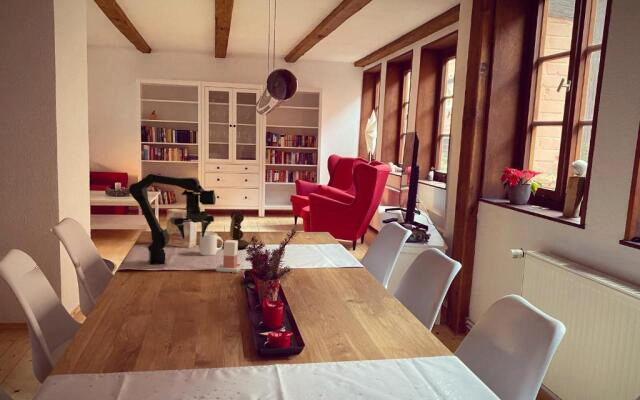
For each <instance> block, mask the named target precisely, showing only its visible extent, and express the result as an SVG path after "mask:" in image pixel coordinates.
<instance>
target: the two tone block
mask: <svg viewBox="0 0 640 400" xmlns="http://www.w3.org/2000/svg"><path fill="white" fill-rule="evenodd" d="M224 241H225V242H224ZM224 241H223V242H224V246H223V261H222V263H223V267H225V268H236V267H237V264H238V241H236V240H230V239H226V240H224Z"/></svg>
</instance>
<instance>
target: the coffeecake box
mask: <svg viewBox="0 0 640 400" xmlns="http://www.w3.org/2000/svg"><path fill="white" fill-rule="evenodd" d="M172 217H182V218H186V209H179V208H171V209H170V208H169V209H166V228H165V229H167V233H168V235H169V236H170V237H169V243H168V244H167V245H166V246H173V247H179V248H189V249H190V248H193V247H196V246H197V230H198V229H197V228H198V227H197V224H198V222H196V223H194V222H183V225H184V239H183V238H182V235H181V233H180V231H179V229H178V227H177V226H176V225H174V224H172V223H171V219H172ZM189 220H190V219H189Z"/></svg>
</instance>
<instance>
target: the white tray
mask: <svg viewBox="0 0 640 400" xmlns="http://www.w3.org/2000/svg"><path fill="white" fill-rule="evenodd" d="M242 268H243V269H244V263H237V267H236V268H225V267H223V262H221V263H220V264H219V265H217V266H216V267H215V272H220V273H222V272H223V273H230V272H232V273H233V274H238V273H240V272H241V271H242V270H243V269H242ZM241 269H242V270H241ZM232 273H231V274H232Z"/></svg>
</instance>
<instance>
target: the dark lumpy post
mask: <svg viewBox="0 0 640 400" xmlns="http://www.w3.org/2000/svg"><path fill="white" fill-rule="evenodd" d="M230 218H231V221H230V227H229V236H230V238H232V239H229V240H236V241H238V248H239V249H240V248H246V247H247V246H248V245H249V246H250V242H249V241H247V240H244V239H243V237H244V231H242V229H241V228H242V223H243V221H244V219H245V217H244V215H243V213H242V212H241V213H240V212H239V211H236V210H233V211H232V212H231V213H230ZM225 241H226V240H223V246H222V247H224V242H225ZM249 246H248V247H249Z"/></svg>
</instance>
